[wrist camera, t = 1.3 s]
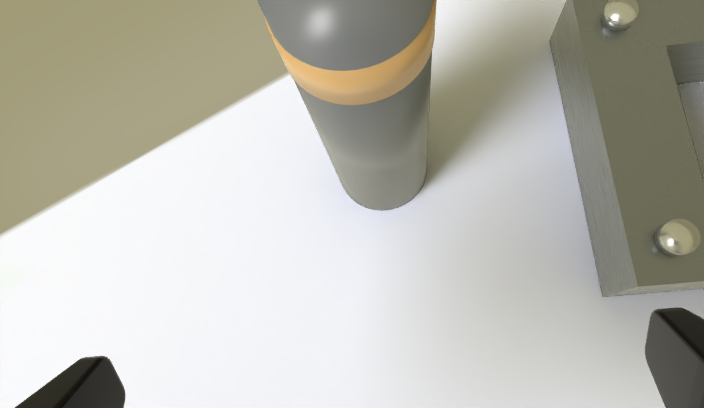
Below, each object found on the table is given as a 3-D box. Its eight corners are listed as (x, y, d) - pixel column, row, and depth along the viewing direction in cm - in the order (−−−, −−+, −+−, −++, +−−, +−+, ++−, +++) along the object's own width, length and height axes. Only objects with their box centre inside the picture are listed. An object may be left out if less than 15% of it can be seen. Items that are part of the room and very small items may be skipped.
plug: (444, 152, 24) (472, -70, 11) (398, 227, 23) (374, 82, 10) (367, 112, 25) (315, -131, 12) (321, 184, 24) (216, 4, 11)
